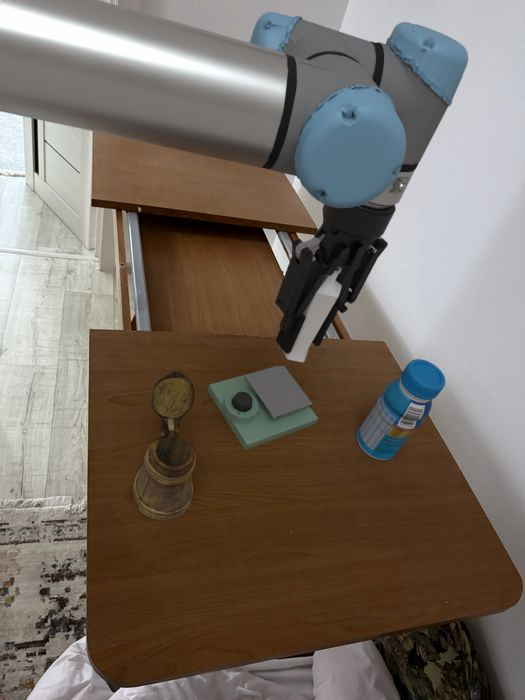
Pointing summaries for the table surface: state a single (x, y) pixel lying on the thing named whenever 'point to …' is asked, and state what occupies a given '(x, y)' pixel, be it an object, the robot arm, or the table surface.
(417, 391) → the beverage bottle
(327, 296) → the white faceted vase
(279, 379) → the scale plate
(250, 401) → the tare button
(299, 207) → the table surface
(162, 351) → the table surface
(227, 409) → the scale
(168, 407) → the wooden mug
